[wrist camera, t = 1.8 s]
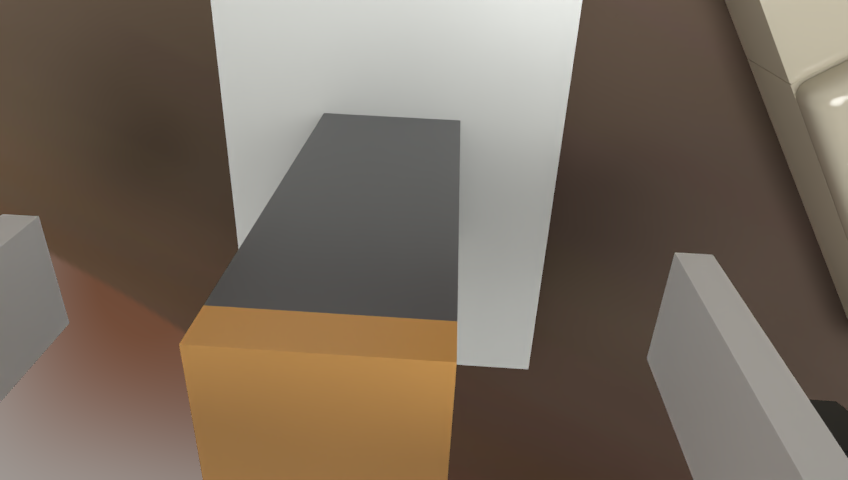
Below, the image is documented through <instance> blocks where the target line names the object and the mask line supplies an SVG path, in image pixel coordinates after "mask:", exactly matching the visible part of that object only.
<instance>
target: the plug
mask: <svg viewBox="0 0 848 480" xmlns="http://www.w3.org/2000/svg"><path fill="white" fill-rule="evenodd" d="M459 183H460V120H443V119H424V118H406V117H387V116H369V115H350V114H332V113H324V114H323V115H322V117H321V119H320V120H319V122H318V123H317V125H316V127H315V128H314V130H313V131H312V133H311V135H310V136H309V138H308V139H307V141H306V143H305V144H304V146H303V147H302V149H301V151H300V152H299V154H298V155H297V157H296V159H295V160H294V162H293V163H292V165H291V166H290V168H289V170H288V171H287V173H286V174H285V176H284V178H283V179H282V181H281V182H280V184H279V186H278V187H277V189H276V190H275V192H274V194H273V195H272V197H271V198H270V200H269V202H268V203H267V205H266V206H265V208H264V210H263V211H262V213H261V214H260V216H259V218H258V219H257V221H256V222H255V224H254V226H253V227H252V229H251V230H250V232H249V234H248V235H247V237H246V238H245V240H244V242H243V243H242V245H241V246H240V248H239V250H238V251H237V253H236V254H235V256H234V257H233V259H232V261H231V262H230V264H229V265H228V267H227V269H226V270H225V272H224V273H223V275H222V277H221V278H220V280H219V281H218V283H217V285H216V286H215V288H214V289H213V291H212V293H211V294H210V296H209V297H208V299H207V301H206V302H205V304H204V305H203V307H202V309H201V310H200V312H199V313H198V315H197V317H196V318H195V320H194V321H193V323H192V325H191V326H190V328H189V329H188V331H187V333H186V334H185V336H184V337H183V339H182V340H181V342H180V344H179V347H180V353H181V358H182V364H183V369H184V375H185V381H186V387H187V392H188V398H189V404H190V409H191V415H192V420H193V426H194V432H195V437H196V443H197V449H198V454H199V460H200V465H201V471H202V477H203V480H448V467H449V454H450V442H451V429H452V416H453V404H454V391H455V378H456V366H457V314H458V249H459Z"/></svg>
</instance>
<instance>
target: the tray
mask: <svg viewBox="0 0 848 480" xmlns="http://www.w3.org/2000/svg"><path fill="white" fill-rule="evenodd" d="M581 7H582V0H211V8H212V17H213V26H214V35H215V44H216V52H217V61H218V70H219V79H220V88H221V97H222V106H223V115H224V124H225V133H226V141H227V150H228V159H229V168H230V177H231V186H232V195H233V204H234V213H235V222H236V230H237V239H238V248H240V246H241V245H242V243H243V242H244V240H245V238H246V237H247V235H248V234H249V232H250V230H251V229H252V227H253V226H254V224H255V222H256V221H257V219H258V218H259V216H260V214H261V213H262V211H263V210H264V208H265V206H266V205H267V203H268V202H269V200H270V198H271V197H272V195H273V194H274V192H275V190H276V189H277V187H278V186H279V184H280V182H281V181H282V179H283V178H284V176H285V174H286V173H287V171H288V170H289V168H290V166H291V165H292V163H293V162H294V160H295V159H296V157H297V155H298V154H299V152H300V151H301V149H302V147H303V146H304V144H305V143H306V141H307V139H308V138H309V136H310V135H311V133H312V131H313V130H314V128H315V127H316V125H317V123H318V122H319V120H320V119H321V117H322V115H323V114H324V113H332V114H350V115H369V116H387V117H406V118H424V119H443V120H460V183H459V249H458V314H457V365H469V366H485V367H500V368H515V369H528V368H529V361H530V354H531V347H532V341H533V334H534V327H535V320H536V313H537V306H538V300H539V293H540V286H541V279H542V272H543V266H544V259H545V252H546V245H547V238H548V231H549V225H550V218H551V211H552V204H553V197H554V191H555V184H556V177H557V170H558V163H559V156H560V150H561V143H562V136H563V129H564V122H565V116H566V109H567V102H568V95H569V88H570V82H571V75H572V68H573V61H574V54H575V47H576V41H577V34H578V27H579V20H580V13H581Z"/></svg>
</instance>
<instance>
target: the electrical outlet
mask: <svg viewBox="0 0 848 480" xmlns="http://www.w3.org/2000/svg"><path fill="white" fill-rule="evenodd" d="M725 3H726V5H727V8H728V10H729V13H730V16H731V18H732V21H733V23H734V26H735V29H736V31H737V34H738V36H739V39H740V42H741V44H742V47H743V49H744V52H745V54H746V57H747V58H748V59H747V60H748V62H749V65H750V67H751V70H752V73H753V75H754V78H755V80H756V83H757V86H758V88H759V91H760V93H761V96H762V98H763V101H764V104H765V106H766V109H767V111H768V114H769V117H770V119H771V122H772V124H773V127H774V130H775V132H776V135H777V137H778V140H779V143H780V145H781V148H782V150H783V153H784V155H785V158H786V161H787V163H788V166H789V168H790V171H791V174H792V176H793V179H794V181H795V184H796V187H797V189H798V192H799V194H800V197H801V200H802V202H803V205H804V207H805V210H806V212H807V215H808V218H809V220H810V223H811V225H812V228H813V231H814V233H815V236H816V238H817V241H818V244H819V246H820V249H821V251H822V254H823V257H824V259H825V262H826V264H827V267H828V269H829V272H830V275H831V277H832V280H833V282H834V285H835V288H836V290H837V293H838V295H839V298H840V301H841V303H842V306H843V308H844V311H845V314H846V316H847V319H848V0H725Z"/></svg>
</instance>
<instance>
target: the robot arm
mask: <svg viewBox="0 0 848 480" xmlns="http://www.w3.org/2000/svg"><path fill="white" fill-rule="evenodd" d="M68 324H69V320H68V317H67V313H66V310H65V306H64V303H63V299H62V296H61V292H60V289H59V285H58V282H57V278H56V275H55V271H54V268H53V264H52V261H51V257H50V254H49V250H48V247H47V243H46V240H45V236H44V233H43V229H42V226H41V222H40V219H39V216H26V215H9V214H2V215H1V216H0V402H1V401H2V400H3V398H4V397H5V396H6V395H7V394H8V393H9V392H10V390H11V389H12V388H13V387H14V386H15V385H16V384H17V382H18V381H19V380H20V379H21V378H22V377H23V376H24V374H25V373H26V372H27V371H28V370H29V369H30V368H31V366H32V365H33V364H34V363H35V362H36V361H37V360H38V358H39V357H40V356H41V355H42V354H43V353H44V352H45V350H46V349H47V348H48V347H49V346H50V345H51V344H52V343H53V341H54V340H55V339H56V338H57V337H58V336H59V335H60V333H61V332H62V331H63V330H64V329H65V328H66V326H67V325H68ZM647 360H648V363H649V366H650V368H651V371H652V373H653V376H654V379H655V381H656V384H657V387H658V389H659V392H660V394H661V397H662V400H663V402H664V405H665V407H666V410H667V413H668V415H669V418H670V420H671V423H672V426H673V428H674V431H675V433H676V436H677V439H678V441H679V444H680V446H681V449H682V452H683V454H684V457H685V459H686V462H687V465H688V467H689V470H690V472H691V475H692V478H693V480H848V411H847V410H846V409H845V408H844V407H842V406H841V405H840V404H839V403H837V402H835V401H819V400H809V399H808V397H807V396H806V394H805V393H804V391H803V390H802V388H801V387H800V385H799V384H798V382H797V381H796V379H795V378H794V376H793V375H792V373H791V372H790V370H789V369H788V367H787V366H786V364H785V363H784V361H783V360H782V358H781V357H780V355H779V354H778V352H777V351H776V349H775V348H774V346H773V345H772V343H771V342H770V340H769V339H768V337H767V336H766V334H765V333H764V331H763V330H762V328H761V327H760V325H759V323H758V322H757V320H756V319H755V317H754V316H753V314H752V313H751V311H750V310H749V308H748V307H747V305H746V304H745V302H744V301H743V299H742V298H741V296H740V295H739V293H738V292H737V290H736V289H735V287H734V286H733V284H732V283H731V281H730V280H729V278H728V277H727V275H726V274H725V272H724V271H723V269H722V268H721V266H720V265H719V263H718V262H717V260H716V259H715V257H714V256H713V255H711V254H693V253H676V252H675V253H674V257H673V261H672V265H671V268H670V272H669V276H668V280H667V284H666V287H665V291H664V295H663V299H662V303H661V306H660V310H659V314H658V318H657V321H656V325H655V329H654V333H653V337H652V340H651V344H650V348H649V352H648V355H647Z"/></svg>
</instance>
